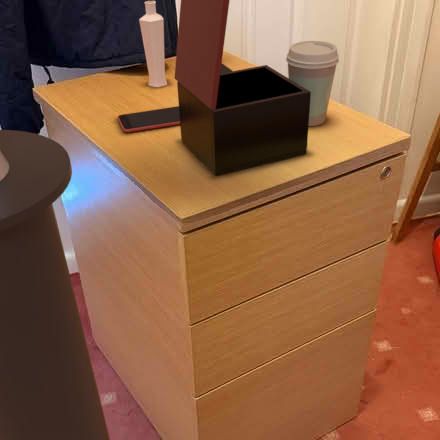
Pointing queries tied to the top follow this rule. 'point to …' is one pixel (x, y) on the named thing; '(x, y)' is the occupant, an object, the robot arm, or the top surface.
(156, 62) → the white pentagonal vase
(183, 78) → the box lid
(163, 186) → the top surface
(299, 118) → the box
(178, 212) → the top surface
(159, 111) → the smartphone
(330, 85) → the coffee cup
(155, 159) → the top surface
